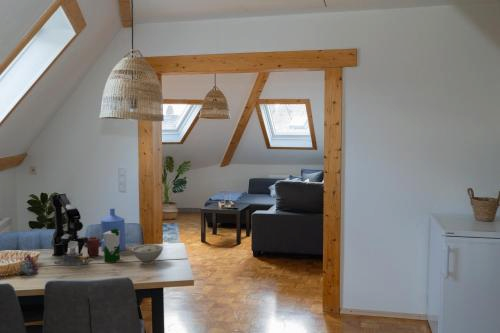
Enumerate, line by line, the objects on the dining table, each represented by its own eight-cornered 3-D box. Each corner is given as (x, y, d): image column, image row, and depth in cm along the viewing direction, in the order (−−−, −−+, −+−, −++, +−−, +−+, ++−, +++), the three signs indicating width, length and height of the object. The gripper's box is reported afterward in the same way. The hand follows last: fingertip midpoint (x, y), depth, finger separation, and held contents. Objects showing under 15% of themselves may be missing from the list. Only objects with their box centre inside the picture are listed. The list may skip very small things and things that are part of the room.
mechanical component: (89, 253, 321) (103, 254, 320) (82, 257, 311) (97, 258, 310) (88, 235, 320) (103, 235, 319) (81, 238, 310) (97, 239, 309)
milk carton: (115, 262, 299) (114, 230, 297) (102, 262, 301) (101, 230, 299) (122, 259, 307) (121, 227, 306) (109, 258, 309) (108, 227, 308)
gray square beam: (70, 260, 301) (69, 248, 300) (72, 259, 303) (72, 247, 302) (73, 261, 300) (73, 248, 299) (75, 260, 302) (75, 247, 301)
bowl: (148, 256, 312) (148, 241, 311) (170, 261, 301) (170, 245, 300) (125, 263, 296) (124, 247, 296) (147, 269, 285) (146, 252, 284)
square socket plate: (54, 263, 298) (54, 255, 298) (66, 258, 310) (66, 250, 309) (81, 265, 293) (81, 257, 293) (93, 260, 305) (92, 252, 304)
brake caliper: (45, 267, 282) (34, 254, 274) (33, 282, 274) (21, 269, 267) (31, 265, 287) (20, 252, 279) (19, 280, 279) (7, 267, 272)
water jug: (129, 247, 337) (128, 207, 335) (118, 253, 322) (117, 211, 320) (109, 246, 341) (107, 206, 339) (97, 251, 326) (95, 210, 324)
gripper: (50, 230, 295) (51, 255, 296) (77, 231, 290) (78, 257, 291) (62, 226, 305) (63, 251, 307) (88, 228, 300) (89, 252, 302)
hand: (73, 253), depth 301 cm, fingers open, 9 cm apart
